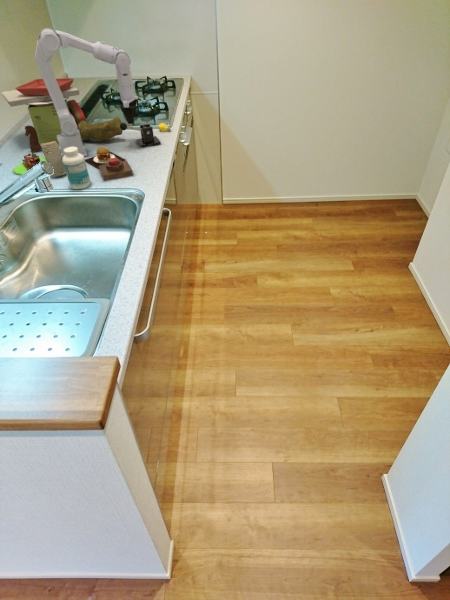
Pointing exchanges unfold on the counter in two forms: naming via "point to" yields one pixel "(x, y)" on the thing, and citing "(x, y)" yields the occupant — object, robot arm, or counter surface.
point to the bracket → (147, 137)
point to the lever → (129, 127)
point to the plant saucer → (42, 86)
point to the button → (113, 161)
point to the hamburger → (102, 157)
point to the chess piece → (33, 138)
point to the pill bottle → (76, 168)
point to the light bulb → (163, 127)
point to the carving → (54, 157)
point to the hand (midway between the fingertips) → (132, 120)
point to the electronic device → (34, 96)
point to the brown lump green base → (28, 163)
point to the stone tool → (100, 130)
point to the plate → (44, 102)
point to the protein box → (46, 122)
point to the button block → (115, 170)
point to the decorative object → (76, 111)
